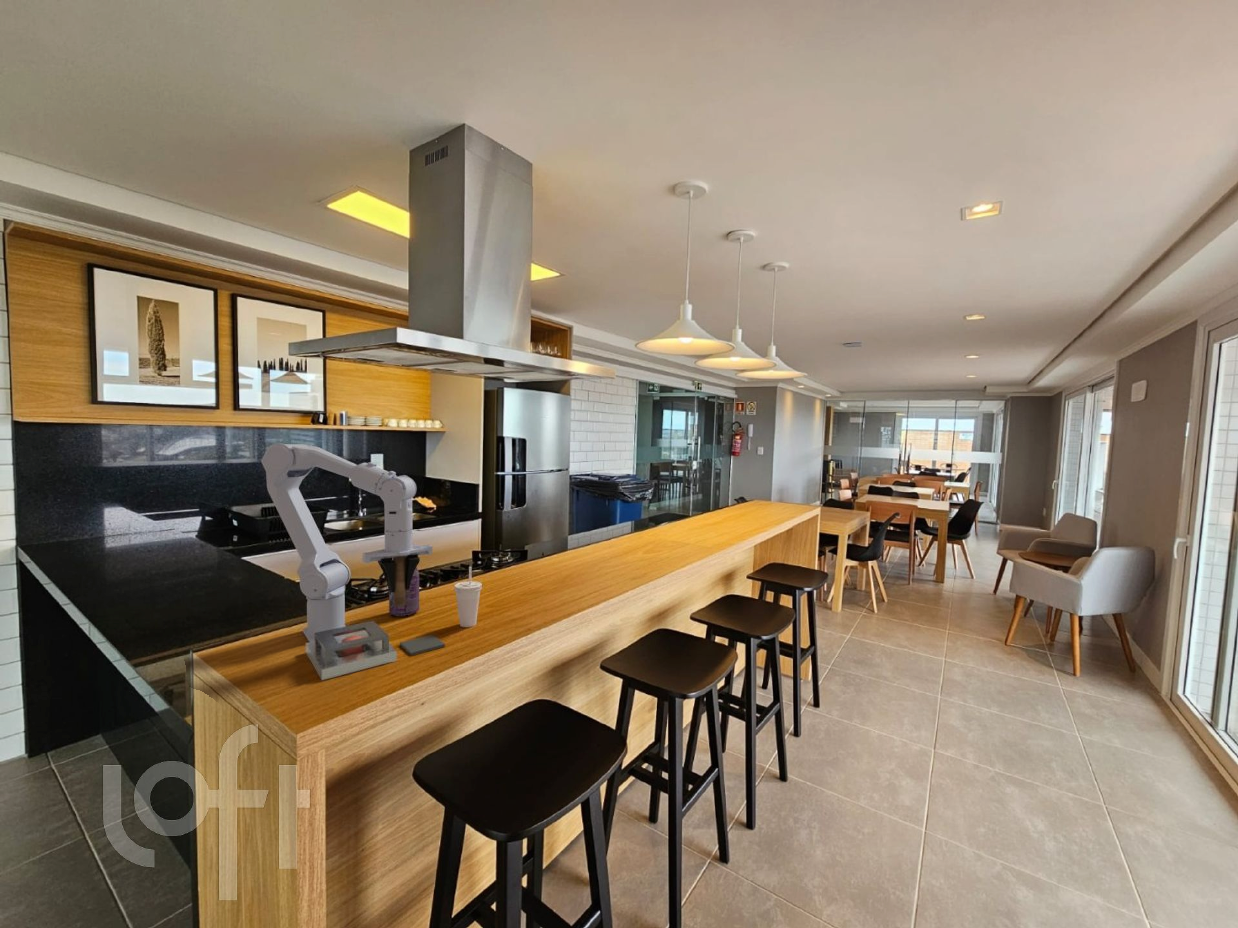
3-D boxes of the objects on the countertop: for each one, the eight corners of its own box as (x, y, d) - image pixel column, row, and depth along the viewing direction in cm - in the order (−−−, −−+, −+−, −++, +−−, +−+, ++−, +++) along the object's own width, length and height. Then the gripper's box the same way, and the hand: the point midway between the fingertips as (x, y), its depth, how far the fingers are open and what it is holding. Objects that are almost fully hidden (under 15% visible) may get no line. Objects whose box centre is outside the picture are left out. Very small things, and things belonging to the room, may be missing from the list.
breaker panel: (305, 652, 102) (305, 629, 102) (373, 637, 111) (373, 615, 111) (322, 680, 90) (321, 654, 90) (396, 660, 99) (396, 636, 99)
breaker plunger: (340, 651, 99) (339, 638, 99) (359, 646, 102) (359, 634, 102) (344, 656, 97) (344, 644, 97) (364, 652, 99) (364, 639, 99)
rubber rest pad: (400, 645, 106) (400, 642, 106) (432, 637, 111) (432, 634, 111) (411, 655, 101) (411, 652, 101) (445, 646, 106) (444, 644, 106)
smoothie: (473, 630, 115) (473, 570, 115) (448, 628, 117) (448, 569, 116) (486, 620, 122) (486, 564, 121) (462, 618, 123) (462, 562, 122)
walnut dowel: (391, 604, 112) (391, 556, 112) (403, 602, 114) (402, 554, 113) (395, 607, 110) (394, 558, 110) (407, 605, 112) (406, 556, 111)
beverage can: (391, 610, 129) (390, 564, 129) (420, 607, 131) (420, 562, 131) (387, 619, 122) (386, 571, 122) (418, 616, 124) (417, 569, 124)
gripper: (368, 536, 103) (369, 600, 104) (437, 528, 113) (437, 587, 114) (359, 531, 109) (360, 592, 109) (426, 525, 118) (426, 581, 119)
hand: (399, 589), depth 112 cm, fingers closed on walnut dowel, 3 cm apart
